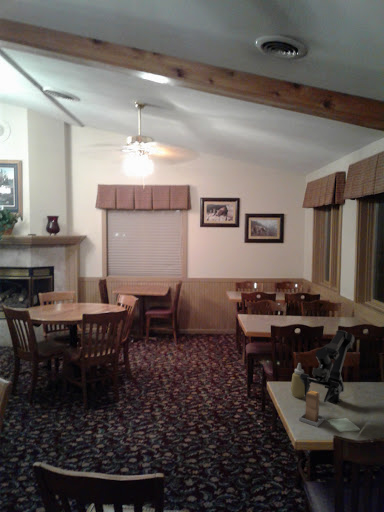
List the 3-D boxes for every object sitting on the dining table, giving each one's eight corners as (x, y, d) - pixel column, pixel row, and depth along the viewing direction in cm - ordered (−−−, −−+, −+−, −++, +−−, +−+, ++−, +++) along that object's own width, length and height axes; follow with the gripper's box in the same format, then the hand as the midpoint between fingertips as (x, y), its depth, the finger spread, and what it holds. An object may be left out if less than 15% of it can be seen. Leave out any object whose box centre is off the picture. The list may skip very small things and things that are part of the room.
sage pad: (327, 421, 179) (327, 419, 179) (346, 420, 181) (346, 418, 181) (339, 432, 169) (339, 430, 169) (359, 431, 171) (360, 428, 171)
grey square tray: (306, 415, 185) (306, 411, 185) (324, 420, 179) (324, 416, 179) (299, 421, 178) (299, 417, 178) (317, 427, 173) (317, 423, 173)
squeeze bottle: (288, 393, 210) (289, 360, 209) (302, 393, 211) (303, 360, 209) (293, 399, 202) (294, 366, 201) (308, 399, 203) (309, 366, 201)
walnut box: (308, 416, 182) (310, 389, 181) (318, 420, 179) (319, 392, 178) (305, 420, 178) (306, 392, 178) (314, 423, 176) (315, 395, 175)
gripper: (302, 356, 189) (291, 385, 181) (340, 365, 178) (331, 396, 170) (307, 368, 196) (297, 396, 188) (345, 377, 184) (336, 408, 176)
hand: (314, 398), depth 180 cm, fingers open, 9 cm apart
